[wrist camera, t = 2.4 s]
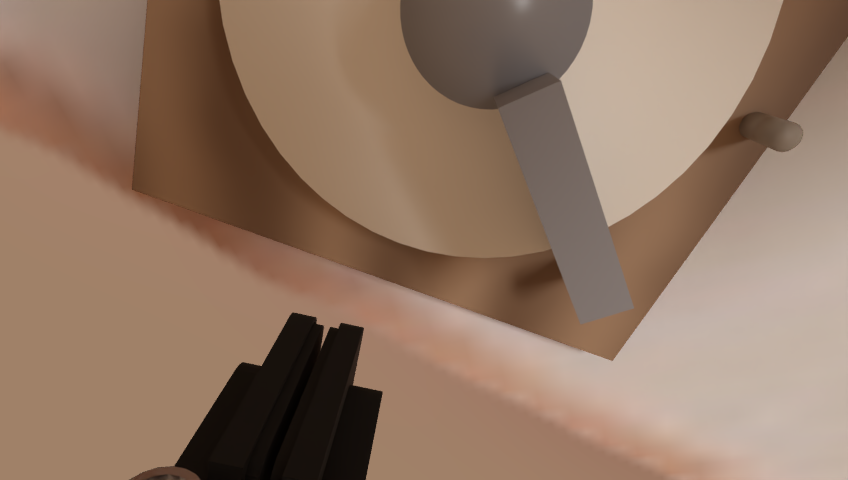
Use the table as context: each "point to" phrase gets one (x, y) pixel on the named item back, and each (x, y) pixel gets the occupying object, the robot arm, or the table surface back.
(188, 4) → the dial board
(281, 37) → the dial
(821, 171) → the table surface
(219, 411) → the robot arm
